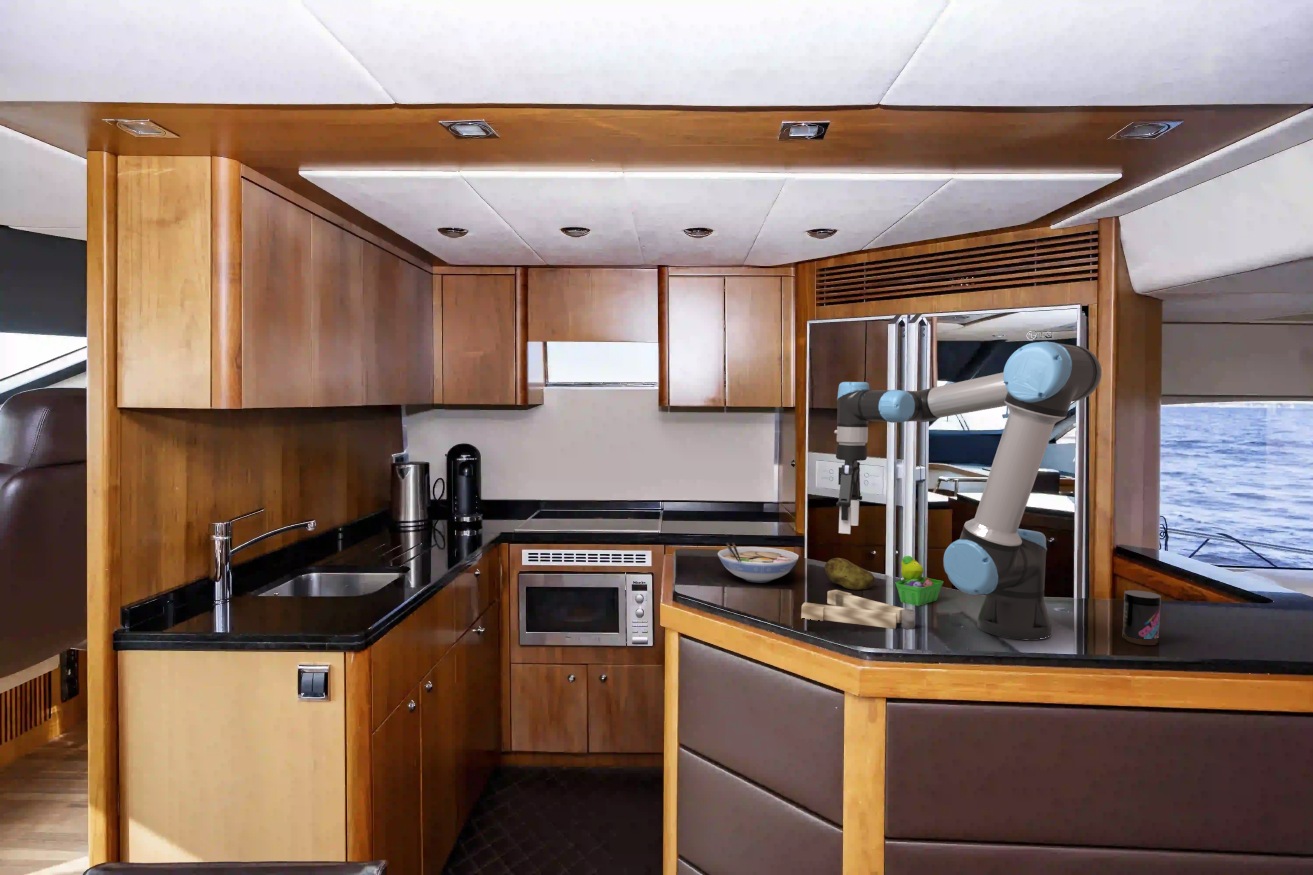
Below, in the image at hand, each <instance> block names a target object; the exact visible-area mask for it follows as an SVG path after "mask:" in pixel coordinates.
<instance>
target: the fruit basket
mask: <svg viewBox="0 0 1313 875" xmlns="http://www.w3.org/2000/svg"><path fill="white" fill-rule="evenodd" d="M900 563H901V568H900V574H901V577H902V578H903V579H902V580H899V581H895V586H896V588H897V592H898V596H899V600H900V603H905V604H908V605H912V606H917V607H920V606H923V605H927V604H930V603H932V602H936V601H938V599H939V598H938V597H939V594H940V592H941V588H942V586H943V584H944V581H943V580H939V579H934V578H929V577H927V576H923V573H924V568H923V566H922V564H920V563H919V562H918V561H917V560H916V559H915V558H914V557H912V555H911V556H910V555H906V556H905V555H904V556H903V557H902V560H901V562H900Z"/></svg>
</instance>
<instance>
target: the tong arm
mask: <svg viewBox="0 0 1313 875" xmlns="http://www.w3.org/2000/svg"><path fill="white" fill-rule="evenodd" d="M826 597H827V598H826V600H827V602H826V603H827V605H831V606H839V607H848V608H857V609H865V610H874V611H882V612H891V613H897V623H896V624H902V610H903V609H905V608H903V607H899V606H895V605H892V604H887V603H884V602H880V601H877V600H876V601H875V600H872V599H869V598H865V597H860V596H857V595H853V594H852V593H851V592H847V591H842V590H839V589H832V590H828V591H827V596H826Z"/></svg>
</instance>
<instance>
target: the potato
mask: <svg viewBox="0 0 1313 875" xmlns="http://www.w3.org/2000/svg"><path fill="white" fill-rule="evenodd" d="M824 570H825V573H826V576H827V578H828V579H829V580H830V581H831V582H832V583H835V584H838V585H840V586H842V587H843V588H845V589H848V590H866V589H870V588H871V587H873V586H874V584H875V575H874V574H873V573H872V572H870V571H868V570H867V569H864V568H862V567H860V566H858V565H856V564H854V563H853V562H851V561H849V560H848V559H845V558H842V557H841V558H840V557H835V558H830V559H829V560H828V561H826V563H825V564H824Z"/></svg>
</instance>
